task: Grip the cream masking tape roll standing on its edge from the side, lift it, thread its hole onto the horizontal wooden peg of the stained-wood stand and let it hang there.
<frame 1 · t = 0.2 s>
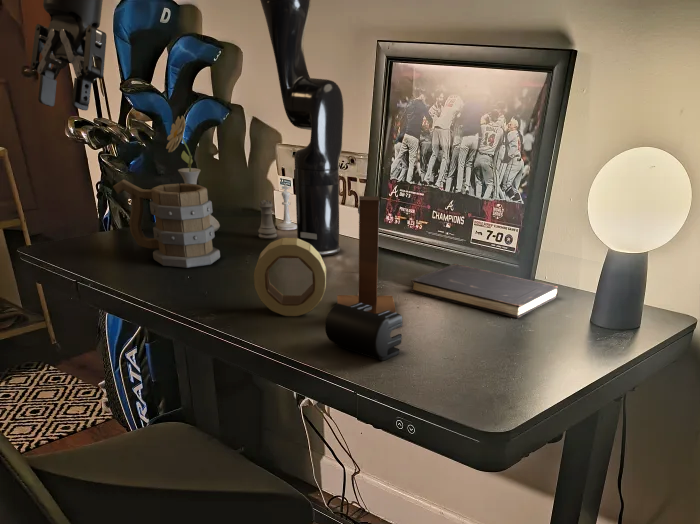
hand: (62, 106, 109), 31 cm above the table, tool tilted 20°, fingers open, 8 cm apart
rook chess piece: (267, 238, 174), on the table
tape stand: (366, 314, 131), on the table
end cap: (364, 353, 116), on the table
tankard: (171, 258, 157), on the table
chess piece: (287, 228, 183), on the table
hardcover book: (483, 295, 142), on the table
flower in vase: (195, 235, 175), on the table
masking tape: (291, 311, 131), on the table
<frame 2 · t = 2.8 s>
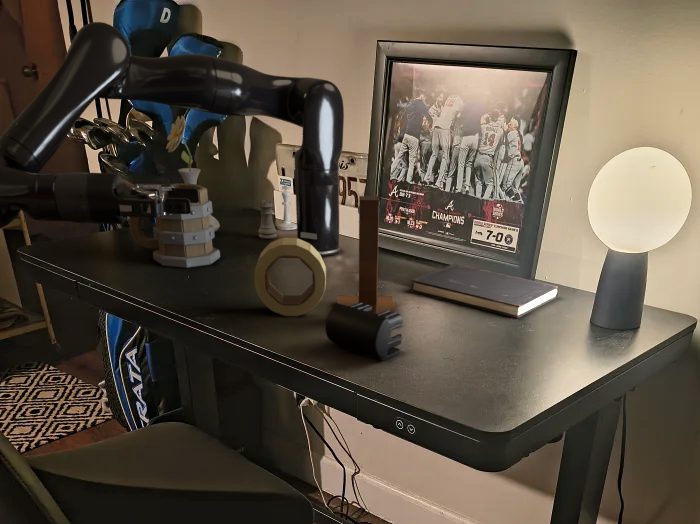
hand: (194, 200, 120), 18 cm above the table, tool horizontal, fingers open, 8 cm apart
nothing on the table moved.
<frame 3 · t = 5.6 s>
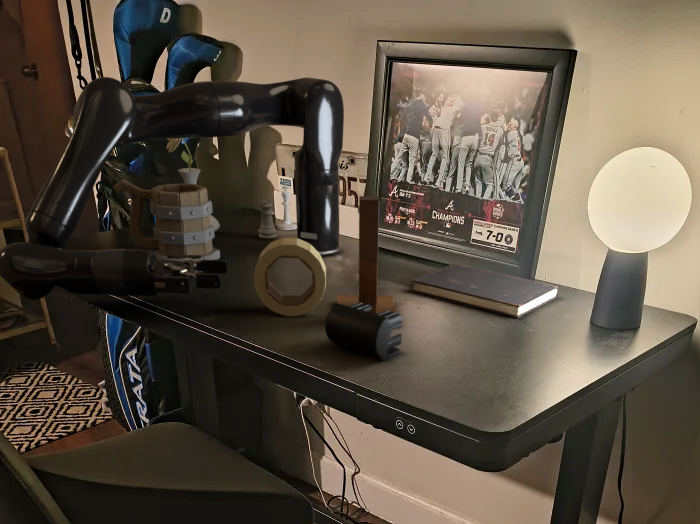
hand: (223, 273, 127), 6 cm above the table, tool horizontal, fingers open, 8 cm apart
nothing on the table moved.
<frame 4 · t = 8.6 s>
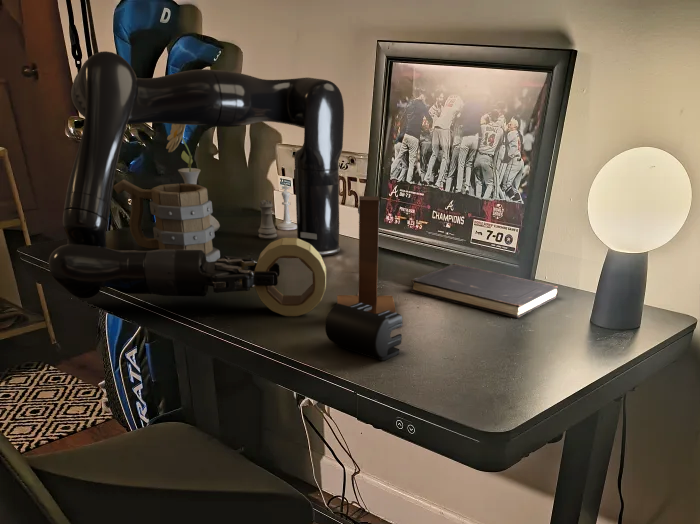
hand: (277, 274, 127), 7 cm above the table, tool horizontal, fingers closed on masking tape, 4 cm apart
masking tape: (292, 311, 131), on the table, touching gripper
everything else where it was.
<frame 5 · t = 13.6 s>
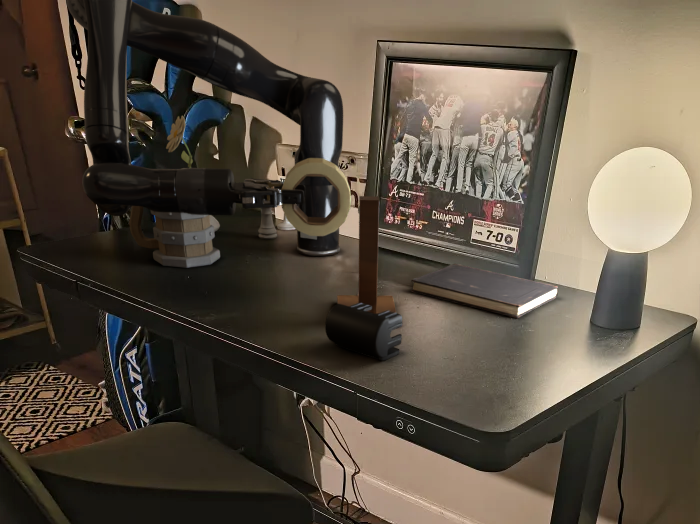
hand: (303, 194, 130), 17 cm above the table, tool horizontal, fingers closed on masking tape, 4 cm apart
masking tape: (316, 232, 134), point 11 cm above the table, touching gripper
everything else where it was.
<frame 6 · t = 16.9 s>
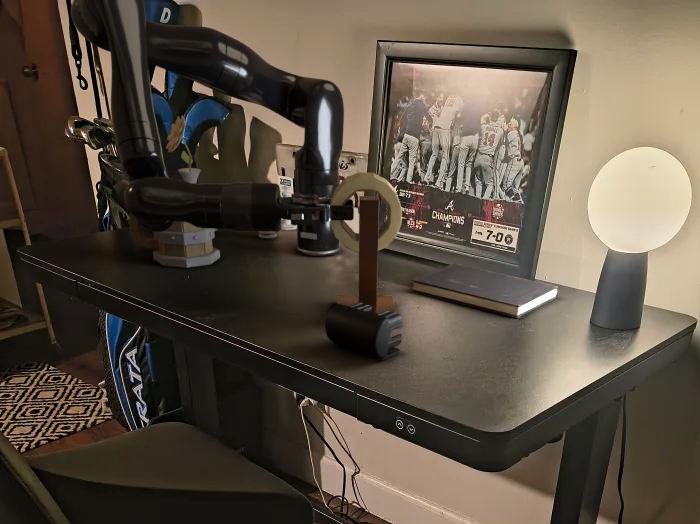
hand: (352, 209, 126), 16 cm above the table, tool horizontal, fingers closed on masking tape, 4 cm apart
masking tape: (364, 249, 129), point 10 cm above the table, touching gripper
everything else where it was.
when the fingers open (14 cm above the table, at t = 19.1 s): masking tape stays where it is, resting on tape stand.
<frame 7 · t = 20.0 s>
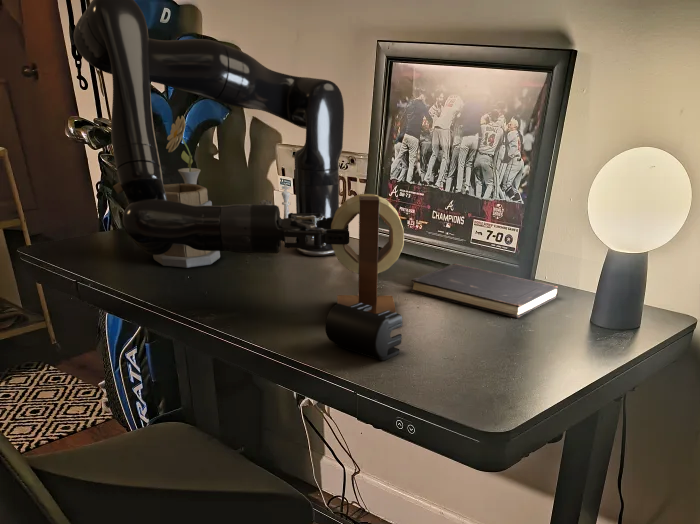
hand: (348, 230, 124), 14 cm above the table, tool horizontal, fingers open, 8 cm apart
masking tape: (367, 271, 128), point 7 cm above the table, touching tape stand
everything else where it was.
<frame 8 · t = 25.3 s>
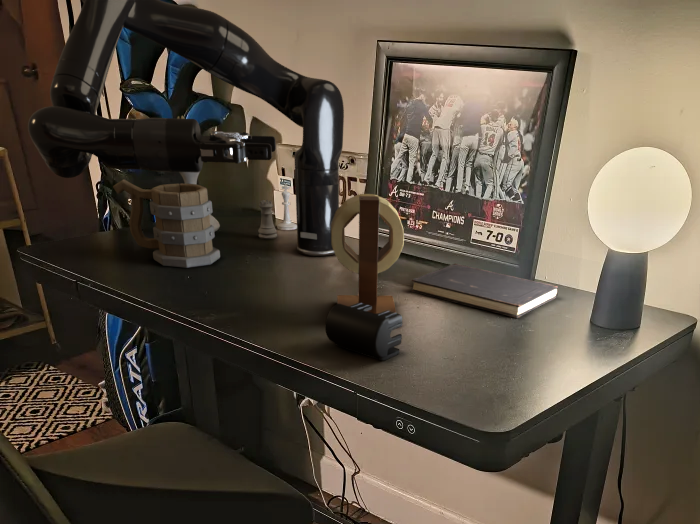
hand: (273, 147, 117), 26 cm above the table, tool horizontal, fingers open, 8 cm apart
nothing on the table moved.
at the end: masking tape inside the target area on the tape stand (0.1 cm from its centre), point 7.1 cm above the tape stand's base; masking tape touching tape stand; the gripper is holding nothing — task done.
